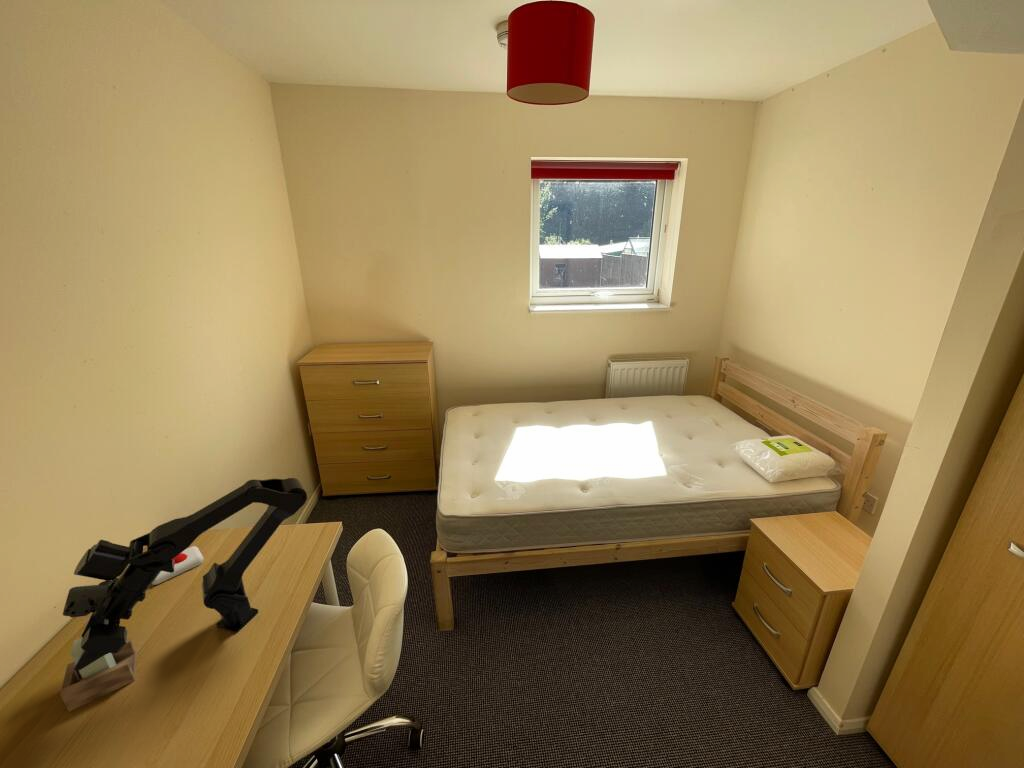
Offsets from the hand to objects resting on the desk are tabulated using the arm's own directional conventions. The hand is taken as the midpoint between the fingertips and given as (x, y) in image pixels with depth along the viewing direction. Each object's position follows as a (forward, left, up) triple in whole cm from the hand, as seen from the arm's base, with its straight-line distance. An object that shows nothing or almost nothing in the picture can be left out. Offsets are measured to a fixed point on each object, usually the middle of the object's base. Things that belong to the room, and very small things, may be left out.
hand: (80, 652), depth 86 cm
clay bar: (-1, -1, -8) cm, 8 cm away
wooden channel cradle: (-1, -1, -9) cm, 9 cm away
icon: (+19, -30, -10) cm, 37 cm away
